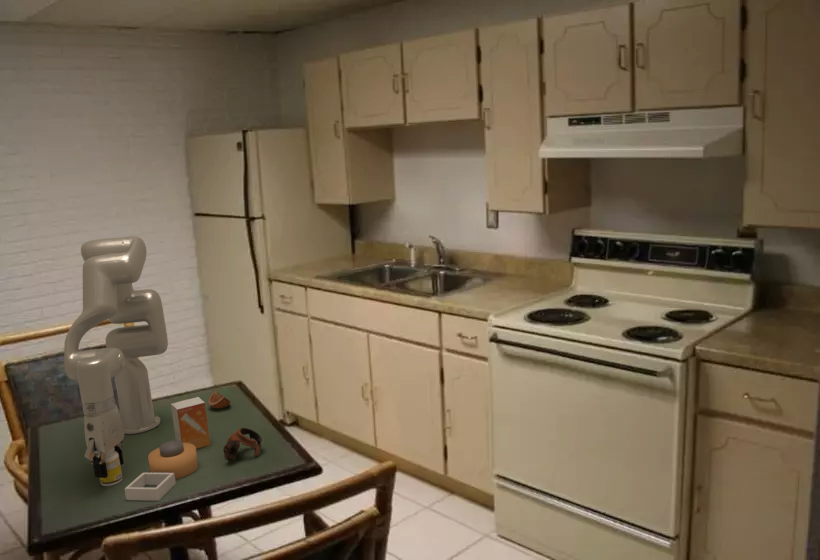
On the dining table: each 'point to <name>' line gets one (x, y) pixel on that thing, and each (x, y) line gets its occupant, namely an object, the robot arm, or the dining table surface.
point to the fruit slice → (218, 400)
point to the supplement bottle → (112, 468)
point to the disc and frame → (163, 470)
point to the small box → (191, 422)
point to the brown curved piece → (238, 437)
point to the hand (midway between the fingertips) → (109, 470)
